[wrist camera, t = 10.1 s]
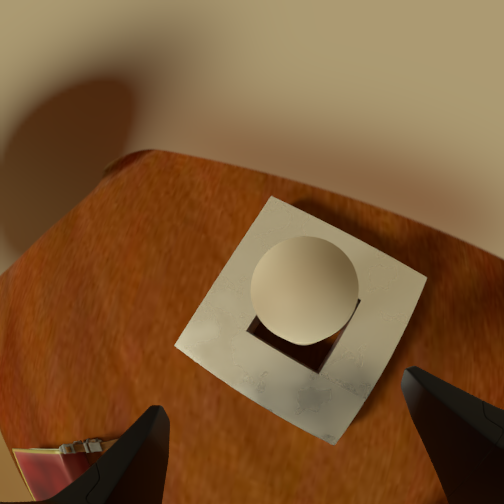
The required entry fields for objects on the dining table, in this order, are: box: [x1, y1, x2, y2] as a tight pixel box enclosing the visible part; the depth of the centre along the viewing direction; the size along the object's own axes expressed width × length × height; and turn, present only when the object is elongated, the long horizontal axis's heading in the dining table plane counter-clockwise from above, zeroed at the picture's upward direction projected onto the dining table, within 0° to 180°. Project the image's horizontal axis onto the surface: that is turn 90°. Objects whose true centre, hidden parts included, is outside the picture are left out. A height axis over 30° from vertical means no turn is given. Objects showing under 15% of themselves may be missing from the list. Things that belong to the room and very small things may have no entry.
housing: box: [174, 196, 427, 445], centre depth 21 cm, size 14×14×3 cm
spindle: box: [251, 236, 359, 346], centre depth 16 cm, size 4×4×13 cm
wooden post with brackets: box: [59, 438, 119, 454], centre depth 20 cm, size 2×8×4 cm, turn 109°
